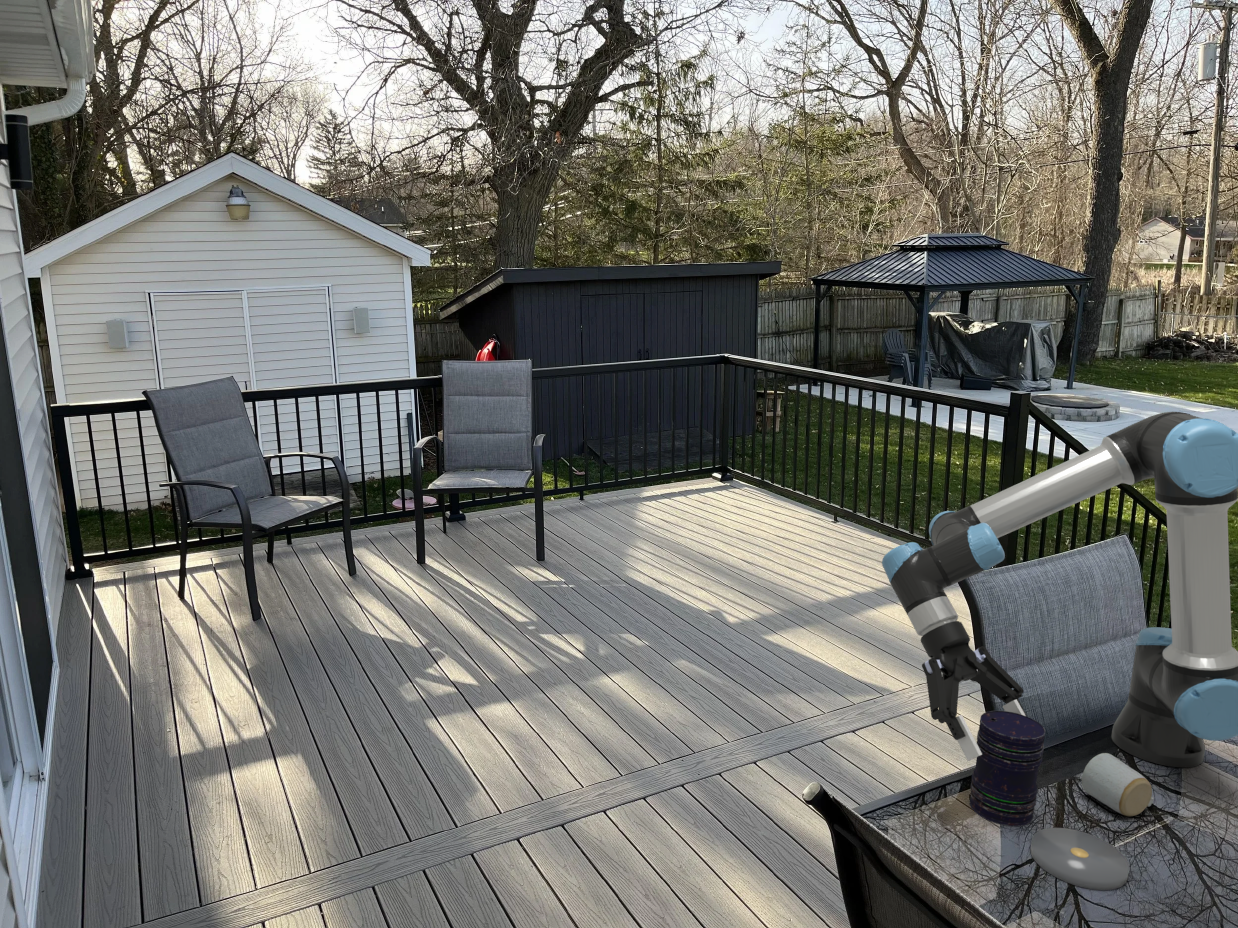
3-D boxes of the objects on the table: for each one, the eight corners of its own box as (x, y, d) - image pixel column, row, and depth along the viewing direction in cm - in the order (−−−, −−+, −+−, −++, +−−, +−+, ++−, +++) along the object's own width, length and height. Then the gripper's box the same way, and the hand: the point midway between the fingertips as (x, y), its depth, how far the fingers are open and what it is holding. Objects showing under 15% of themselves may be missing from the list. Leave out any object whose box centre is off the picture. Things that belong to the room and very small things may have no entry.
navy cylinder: (1037, 805, 152) (1049, 721, 149) (1030, 833, 143) (1042, 745, 140) (974, 786, 156) (984, 704, 154) (963, 813, 148) (974, 727, 145)
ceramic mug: (1119, 823, 147) (1127, 779, 146) (1077, 796, 155) (1084, 754, 153) (1165, 812, 151) (1173, 769, 150) (1122, 787, 159) (1129, 746, 158)
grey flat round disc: (1123, 851, 140) (1125, 841, 139) (1131, 900, 128) (1133, 890, 128) (1030, 827, 145) (1032, 818, 145) (1030, 873, 133) (1031, 863, 133)
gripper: (973, 627, 167) (1035, 740, 157) (873, 649, 154) (934, 773, 145) (1001, 609, 162) (1068, 725, 152) (901, 629, 149) (966, 757, 139)
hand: (1003, 748), depth 148 cm, fingers open, 13 cm apart
